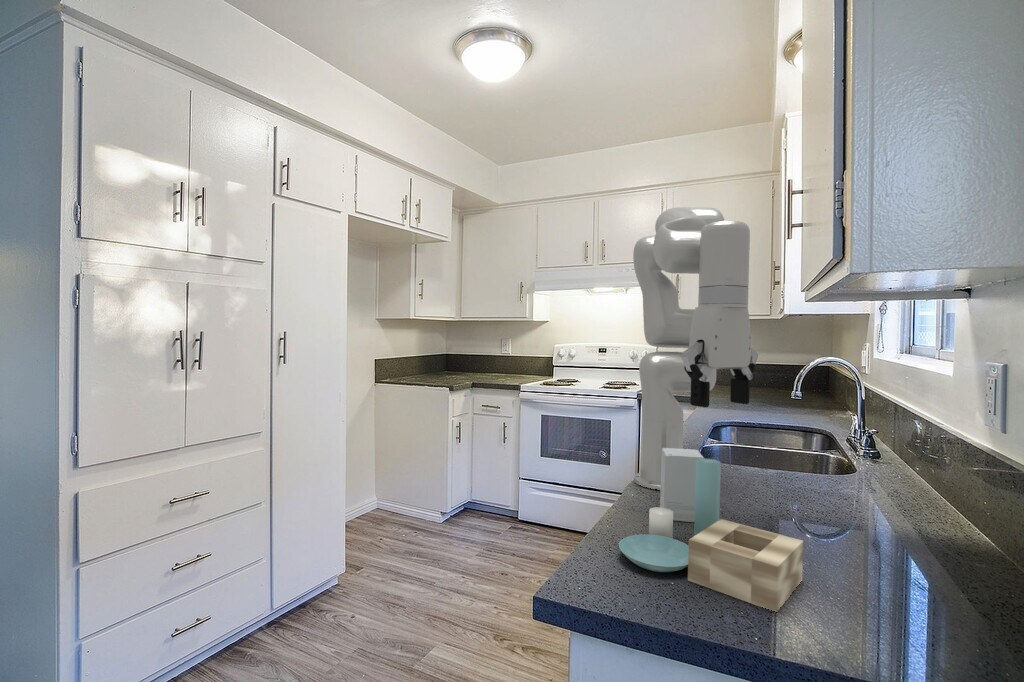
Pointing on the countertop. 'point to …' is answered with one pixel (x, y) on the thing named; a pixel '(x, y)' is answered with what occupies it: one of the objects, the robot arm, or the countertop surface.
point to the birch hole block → (746, 563)
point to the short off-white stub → (661, 522)
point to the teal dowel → (707, 493)
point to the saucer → (655, 552)
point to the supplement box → (679, 482)
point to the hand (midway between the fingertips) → (720, 404)
